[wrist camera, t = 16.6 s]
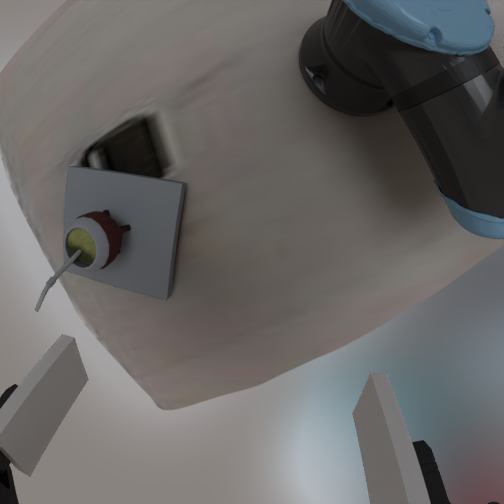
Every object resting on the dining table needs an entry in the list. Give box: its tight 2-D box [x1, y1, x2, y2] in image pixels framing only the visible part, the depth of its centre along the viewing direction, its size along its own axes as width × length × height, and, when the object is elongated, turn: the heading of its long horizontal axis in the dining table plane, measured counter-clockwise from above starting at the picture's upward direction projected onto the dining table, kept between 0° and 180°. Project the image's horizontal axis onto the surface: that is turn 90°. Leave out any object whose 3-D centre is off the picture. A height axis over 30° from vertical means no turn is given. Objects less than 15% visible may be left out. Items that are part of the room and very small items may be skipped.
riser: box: [64, 166, 186, 301], centre depth 39 cm, size 18×16×4 cm
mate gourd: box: [35, 210, 131, 312], centre depth 31 cm, size 8×8×15 cm
